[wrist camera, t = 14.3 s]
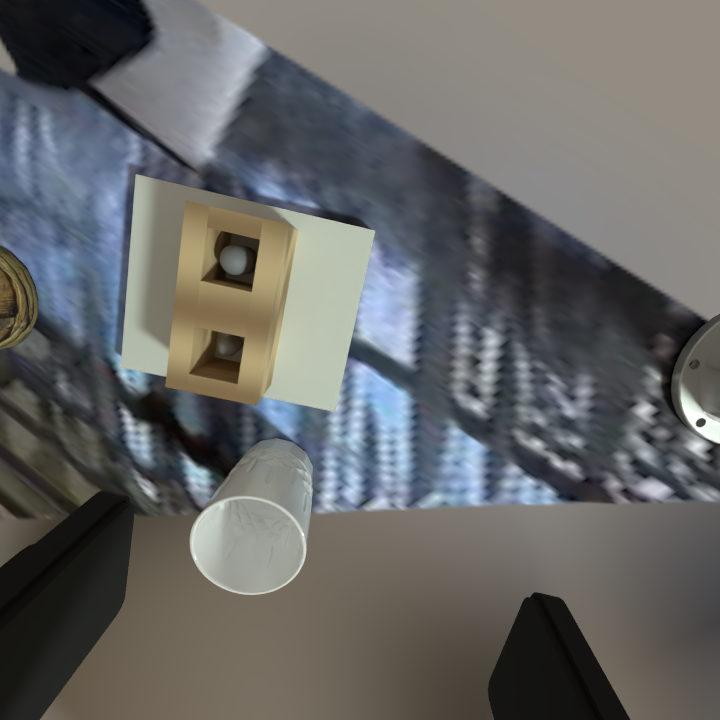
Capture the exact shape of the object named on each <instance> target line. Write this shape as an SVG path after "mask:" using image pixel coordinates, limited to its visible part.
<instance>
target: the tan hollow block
mask: <svg viewBox="0 0 720 720" xmlns="http://www.w3.org/2000/svg"><path fill="white" fill-rule="evenodd" d="M232 233H233V234H237V235H242V236H246V237H250V238H254V239H259V240H260V243H259V250H258V256H257V262H256V269H255V275H254V282H253V284H250V283H246V282H242V281H237V280H233V279H228V278H226V271H225V270H224V269H223V268H222V266H221V263H220V254H221V252H222V250H223V249H224V248H225V247H227V246H230V242H231V234H232ZM297 236H298V230H297V229H295V228H293V227H291V226H289V225H287V224H284V223H280V222H275V221H271V220H267V219H263V218H258V217H254V216H250V215H246V214H241V213H237V212H233V211H229V210H224V209H220V208H216V207H211V206H207V205H203V204H199V203H194V202H190V201H186V200H185V209H184V219H183V228H182V237H181V246H180V255H179V265H178V274H177V283H176V292H175V301H174V311H173V320H172V329H171V338H170V347H169V357H168V366H167V375H166V384H165V387H168V388H172V389H177V390H182V391H187V392H192V393H197V394H202V395H207V396H211V397H216V398H221V399H226V400H231V401H236V402H241V403H245V404H250V405H255V406H256V405H257V404H258V402H259V401H260V399H261V398H262V397H263V395H264V394H265V392H266V391H267V389H268V388H269V387H270V385H271V383H272V377H273V371H274V366H275V360H276V354H277V349H278V343H279V337H280V332H281V326H282V320H283V315H284V309H285V304H286V298H287V292H288V287H289V281H290V275H291V270H292V264H293V258H294V253H295V247H296V241H297ZM218 332H222V333H227V334H231V335H236V336H241V337H245V340H244V346H243V353H242V359H241V363H240V362H235V361H231V360H226V359H221V358H217V357H215V350H216V343H217V336H218Z"/></svg>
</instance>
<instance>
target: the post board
mask: <svg viewBox="0 0 720 720" xmlns="http://www.w3.org/2000/svg"><path fill="white" fill-rule="evenodd" d="M185 200H186V201H190V202H194V203H199V204H203V205H207V206H211V207H216V208H220V209H224V210H229V211H233V212H237V213H241V214H246V215H250V216H254V217H258V218H263V219H267V220H271V221H275V222H280V223H284V224H287V225H289V226H291V227H293V228H295V229H297V230H298V236H297V241H296V247H295V253H294V258H293V264H292V270H291V275H290V281H289V287H288V292H287V298H286V304H285V309H284V315H283V320H282V326H281V332H280V337H279V343H278V349H277V354H276V360H275V366H274V371H273V377H272V383H271V385H270V387H269V388H268V389H267V391H266V392H265V394H264V395H263V397H266V398H271V399H276V400H281V401H286V402H291V403H295V404H300V405H305V406H310V407H315V408H320V409H324V410H329V411H334V412H335V410H336V405H337V401H338V396H339V392H340V387H341V383H342V378H343V374H344V369H345V365H346V360H347V356H348V351H349V347H350V342H351V338H352V333H353V329H354V324H355V320H356V315H357V311H358V306H359V302H360V297H361V293H362V288H363V284H364V279H365V275H366V270H367V266H368V261H369V257H370V252H371V248H372V243H373V239H374V234H375V230H370V229H366V228H362V227H358V226H353V225H349V224H345V223H341V222H336V221H332V220H328V219H324V218H319V217H315V216H311V215H307V214H303V213H298V212H294V211H290V210H286V209H281V208H277V207H273V206H269V205H264V204H260V203H256V202H252V201H247V200H243V199H239V198H235V197H230V196H226V195H222V194H218V193H214V192H209V191H205V190H201V189H197V188H192V187H188V186H184V185H180V184H175V183H171V182H167V181H163V180H158V179H154V178H150V177H146V176H141V175H137V174H136V177H135V190H134V203H133V216H132V229H131V242H130V254H129V267H128V280H127V293H126V306H125V319H124V331H123V344H122V357H121V368H126V369H131V370H136V371H141V372H145V373H150V374H155V375H160V376H165V377H166V375H167V366H168V357H169V347H170V338H171V329H172V320H173V311H174V301H175V292H176V283H177V274H178V265H179V255H180V246H181V237H182V228H183V219H184V209H185ZM259 243H260V240H259V239H254V238H250V237H246V236H242V235H237V234H233V233H232V234H231V242H230V246H227V247H225V248H224V249H223V250H222V252H221V254H220V263H221V266H222V268H223V269H224V270H225V271H226V278H228V279H233V280H237V281H242V282H246V283H250V284H253V282H254V275H255V269H256V262H257V256H258V250H259ZM244 340H245V337H241V336H236V335H231V334H227V333H222V332H218V336H217V343H216V350H215V357H217V358H221V359H226V360H231V361H235V362H240V363H241V359H242V353H243V346H244Z"/></svg>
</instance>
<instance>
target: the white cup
mask: <svg viewBox="0 0 720 720" xmlns="http://www.w3.org/2000/svg"><path fill="white" fill-rule="evenodd" d="M312 481H313V465H312V463H311V461H310V459H309V457H308V455H307V453H306V452H305V451H304V450H302V449H301V448H300V447H299V446H297V445H296V444H295V443H294V442H290V441H286V440H282V439H279V438H275V439H269V440H262V441H260V442H258V443H257V444H255V445H254V446H252V447H251V448H249V449H248V450H247V451H246V453H245V454H244V456H243V457H242V459H241V460H240V461H239V462H238V463H237V464H236V465H235V467H234V468H233V469H232V470H231V472H230V473H229V475H228V476H227V477H226V478H225V479H224V481H223V482H222V484H221V485H220V487H219V488H218V489H217V491H216V492H215V494H214V495H213V496H212V498H211V499H210V501H209V502H208V503H207V505H206V506H205V508H204V509H203V510H202V512H201V513H200V515H199V516H198V517H197V519H196V521H195V522H194V524H193V527H192V530H191V534H190V550H191V554H192V557H193V560H194V562H195V564H196V565H197V567H198V569H199V570H200V571H201V572H202V574H203V575H204V576H205V577H206V578H207V579H209V580H210V581H211V582H213V583H214V584H216V585H217V586H219V587H221V588H223V589H225V590H228V591H231V592H234V593H239V594H246V595H257V594H263V593H268V592H272V591H275V590H277V589H279V588H281V587H283V586H284V585H286V584H287V583H289V582H290V581H291V580H292V579H293V578H294V577H295V576H296V575H297V574H298V572H299V571H300V569H301V567H302V565H303V563H304V560H305V556H306V548H307V538H308V530H309V522H310V514H311V504H312Z"/></svg>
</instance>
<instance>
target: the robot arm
mask: <svg viewBox="0 0 720 720" xmlns="http://www.w3.org/2000/svg"><path fill="white" fill-rule="evenodd" d="M671 394H672V402H673V405H674V407H675V410H676V413H677V415H678V416H679V418H680V419H681V421H682V422H683V423H684V424H685V425H686V426H687V427H688V428H689V429H690V430H691V431H693V432H695V433H696V434H698V435H700V436H701V437H703V438H706V439H708V440H710V441H712V442H715V443H719V444H720V314H719V315H717V316H715V317H714V318H712V319H711V320H710V321H708V322H707V323H706V324H704V325H703V326H702V327H701V328H700V329H699V330H698V331H697V332H696V333H695V334H694V335H693V336H692V337H691V338H690V340H689V341H688V342H687V344H686V345H685V347H684V348H683V350H682V351H681V353H680V355H679V358H678V360H677V362H676V364H675V368H674V371H673V375H672V383H671ZM134 513H135V507H134V505H133V504H129V497H128V496H125V495H121V494H116V493H112V492H108V491H104V490H103V491H100V492H98V493H96V494H95V495H94V496H93V497H91V498H90V499H89V500H88V501H87V502H85V503H84V504H83V505H82V506H81V507H79V508H78V509H77V510H76V511H74V512H73V513H72V514H71V515H70V516H68V517H67V518H66V519H65V520H63V521H62V522H61V523H60V524H59V525H57V526H56V527H55V528H54V529H53V530H51V531H50V532H49V533H48V534H46V536H44V537H43V538H42V539H40V540H39V541H38V542H37V543H36V544H32V545H29V546H28V547H26V548H25V549H23V550H22V551H20V552H19V553H18V554H16V555H15V556H14V557H13V558H11V559H10V560H9V561H8V562H7V563H5V564H4V565H3V566H2V567H0V720H40V718H41V717H42V716H43V714H44V713H45V712H46V710H47V709H48V708H49V706H50V705H51V704H52V702H53V701H54V700H55V698H56V697H57V695H58V694H59V693H60V691H61V690H62V689H63V687H64V686H65V685H66V683H67V682H68V680H69V679H70V678H71V676H72V675H73V673H74V672H75V671H76V670H77V668H78V667H79V666H80V664H81V663H82V662H83V660H84V659H85V657H86V656H87V655H88V653H89V652H90V651H91V649H92V648H93V647H94V645H95V644H96V643H97V641H98V640H99V639H100V637H101V636H102V634H103V633H104V632H105V630H106V629H107V628H108V626H109V625H110V624H111V622H112V621H113V620H114V618H115V617H116V615H117V614H118V612H119V610H120V609H121V607H122V604H123V602H124V599H125V591H126V583H127V575H128V566H129V557H130V548H131V538H132V530H133V522H134ZM488 694H489V701H490V705H491V709H492V713H493V717H494V720H630V718H629V717H628V715H627V713H626V711H625V709H624V708H623V706H622V704H621V702H620V701H619V699H618V697H617V695H616V693H615V691H614V690H613V688H612V686H611V684H610V682H609V681H608V679H607V677H606V675H605V674H604V672H603V670H602V668H601V666H600V665H599V663H598V661H597V659H596V657H595V656H594V654H593V652H592V650H591V648H590V647H589V645H588V643H587V641H586V640H585V638H584V636H583V635H582V632H581V631H580V629H579V627H578V625H577V623H576V622H575V620H574V618H573V616H572V614H571V613H570V611H569V609H568V607H567V606H566V604H565V602H564V601H563V600H562V599H561V598H558V597H554V596H550V595H546V594H542V593H533V594H532V595H531V597H530V598H529V597H527V598H525V599H524V601H523V603H522V605H521V607H520V610H519V612H518V615H517V617H516V619H515V622H514V624H513V626H512V629H511V631H510V633H509V636H508V638H507V641H506V643H505V645H504V647H503V650H502V652H501V654H500V657H499V659H498V661H497V664H496V666H495V669H494V671H493V674H492V676H491V678H490V681H489V687H488Z"/></svg>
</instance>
